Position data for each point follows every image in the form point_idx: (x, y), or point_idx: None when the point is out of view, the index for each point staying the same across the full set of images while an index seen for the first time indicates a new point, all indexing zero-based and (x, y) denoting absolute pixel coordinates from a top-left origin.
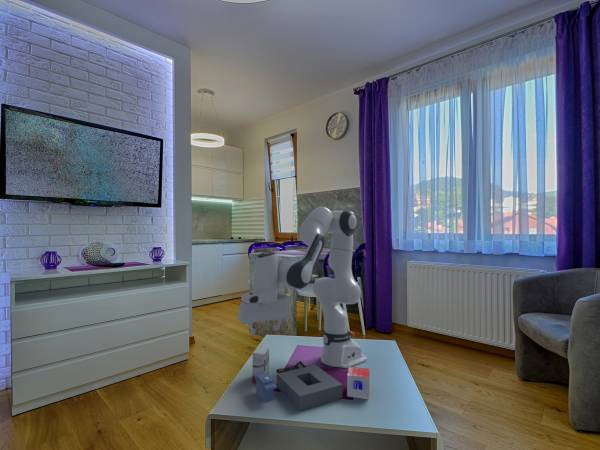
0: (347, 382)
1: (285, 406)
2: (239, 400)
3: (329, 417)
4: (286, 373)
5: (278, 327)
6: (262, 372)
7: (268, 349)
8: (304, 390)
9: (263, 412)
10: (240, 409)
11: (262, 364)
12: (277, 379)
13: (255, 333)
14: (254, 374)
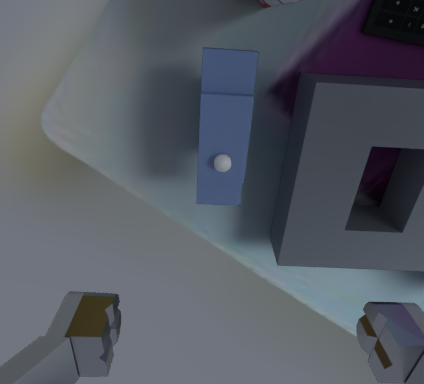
0: None
1: (249, 201)
2: (126, 94)
3: (313, 285)
4: (354, 104)
5: (407, 372)
6: (249, 60)
7: None
8: (313, 246)
9: (177, 196)
10: (116, 149)
11: (281, 1)
12: (308, 85)
13: (114, 335)
14: (202, 61)
